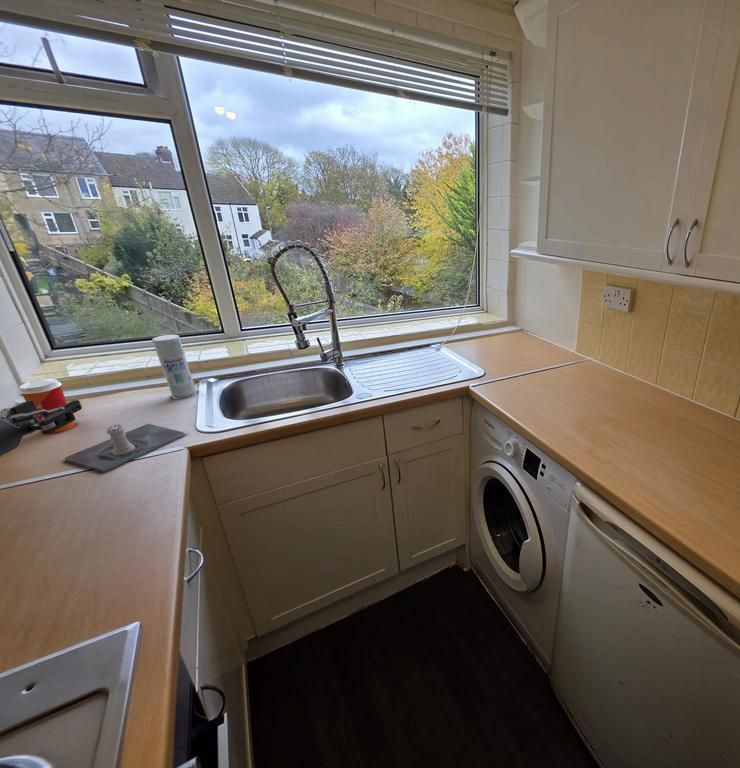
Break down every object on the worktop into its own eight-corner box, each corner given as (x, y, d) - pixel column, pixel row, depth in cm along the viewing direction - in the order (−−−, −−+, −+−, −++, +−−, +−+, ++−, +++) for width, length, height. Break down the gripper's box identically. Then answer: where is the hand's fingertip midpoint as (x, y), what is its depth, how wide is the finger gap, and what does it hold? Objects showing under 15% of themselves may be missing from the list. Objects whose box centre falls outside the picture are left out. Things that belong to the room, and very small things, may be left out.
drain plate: (105, 474, 93) (102, 469, 93) (67, 462, 97) (64, 457, 97) (185, 437, 109) (183, 432, 108) (149, 428, 113) (147, 423, 112)
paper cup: (37, 431, 110) (13, 384, 105) (76, 420, 116) (56, 375, 111) (43, 440, 106) (19, 391, 101) (84, 428, 112) (62, 382, 106)
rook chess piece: (109, 457, 99) (97, 429, 96) (131, 448, 103) (119, 421, 100) (120, 461, 98) (108, 433, 95) (141, 452, 102) (130, 424, 99)
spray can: (195, 390, 136) (177, 333, 128) (199, 396, 132) (180, 337, 124) (171, 396, 132) (150, 337, 124) (174, 402, 128) (153, 341, 120)
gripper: (5, 426, 69) (87, 387, 83) (-92, 428, 67) (8, 388, 82) (25, 463, 72) (100, 419, 86) (-67, 466, 70) (25, 421, 85)
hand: (55, 404), depth 84 cm, fingers open, 8 cm apart
